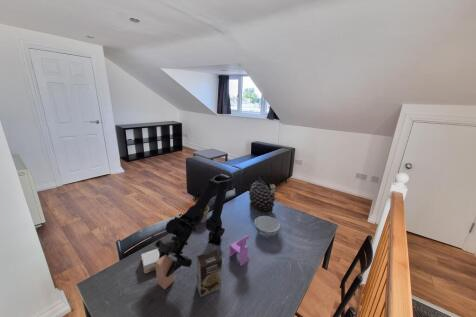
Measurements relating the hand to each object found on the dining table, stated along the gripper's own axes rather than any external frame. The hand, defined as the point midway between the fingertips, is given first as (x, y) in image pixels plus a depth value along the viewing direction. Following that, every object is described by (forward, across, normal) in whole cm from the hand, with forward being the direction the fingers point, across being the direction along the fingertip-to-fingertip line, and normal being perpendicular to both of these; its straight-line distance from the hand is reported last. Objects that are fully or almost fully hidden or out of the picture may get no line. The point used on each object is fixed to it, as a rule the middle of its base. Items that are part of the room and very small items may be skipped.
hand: (162, 272), depth 85 cm
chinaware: (-36, +20, +46) cm, 62 cm away
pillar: (+4, 0, +6) cm, 7 cm away
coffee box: (-3, +16, +13) cm, 21 cm away
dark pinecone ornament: (-51, +4, +61) cm, 80 cm away
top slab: (+1, -13, +6) cm, 14 cm away
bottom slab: (+2, -13, +8) cm, 16 cm away
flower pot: (-26, -19, +35) cm, 48 cm away
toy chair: (-18, +17, +28) cm, 38 cm away
